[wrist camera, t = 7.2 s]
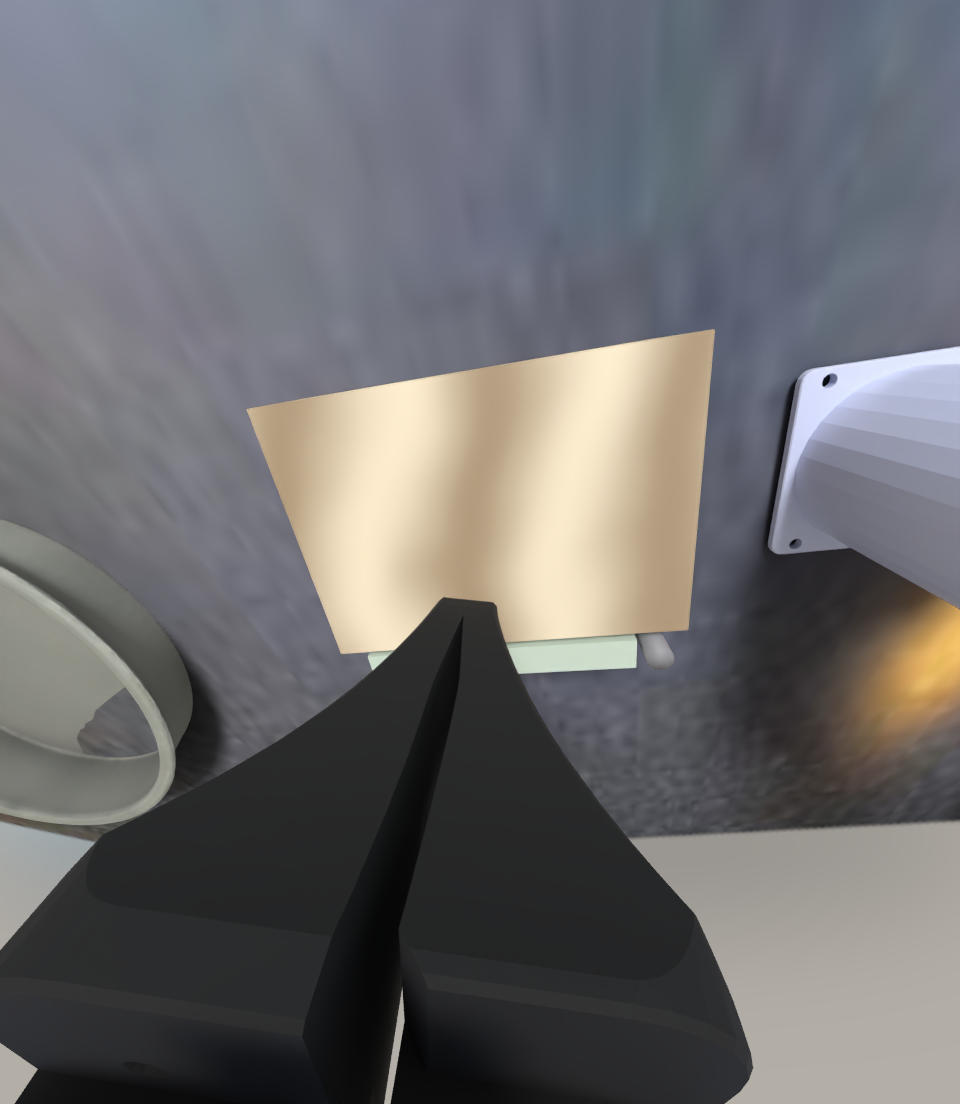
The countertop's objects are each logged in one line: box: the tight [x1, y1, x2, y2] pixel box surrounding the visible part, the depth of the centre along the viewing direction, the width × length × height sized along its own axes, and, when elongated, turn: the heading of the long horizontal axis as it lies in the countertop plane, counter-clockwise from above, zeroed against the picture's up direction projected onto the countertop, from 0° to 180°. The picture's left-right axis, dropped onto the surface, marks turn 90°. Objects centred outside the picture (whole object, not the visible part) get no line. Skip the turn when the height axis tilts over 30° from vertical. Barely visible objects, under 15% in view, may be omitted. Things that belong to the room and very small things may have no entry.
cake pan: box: [0, 519, 193, 825], centre depth 25 cm, size 25×25×4 cm
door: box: [368, 632, 674, 674], centre depth 19 cm, size 12×3×6 cm, turn 99°
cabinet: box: [247, 329, 715, 654], centre depth 16 cm, size 14×10×6 cm
